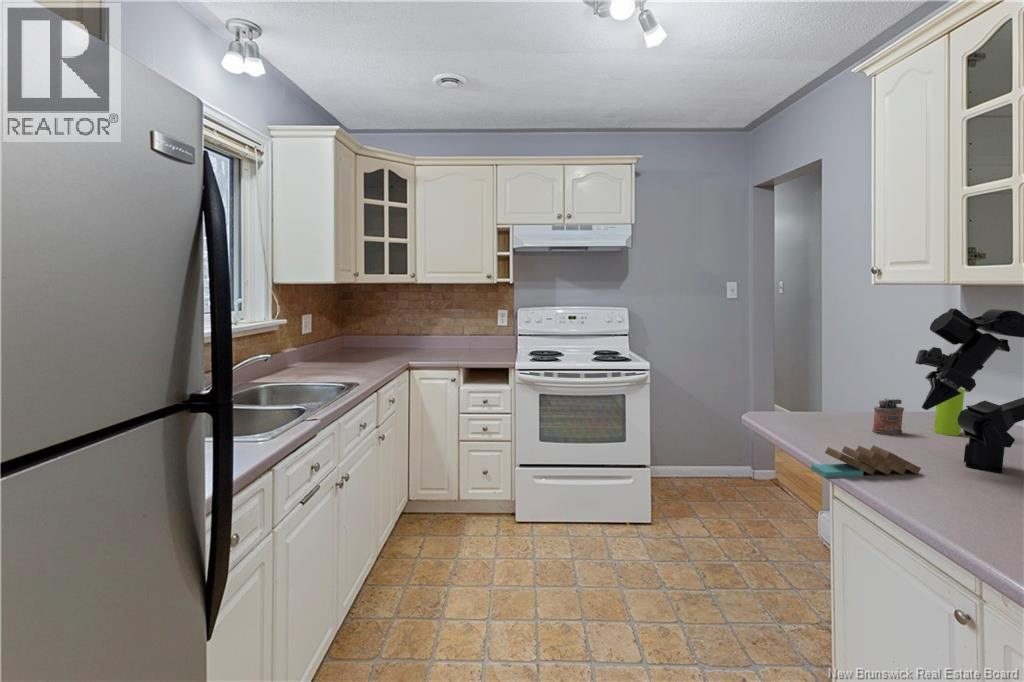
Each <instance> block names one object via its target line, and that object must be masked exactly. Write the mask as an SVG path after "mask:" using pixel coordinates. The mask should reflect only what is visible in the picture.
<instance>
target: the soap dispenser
mask: <svg viewBox="0 0 1024 682" xmlns="http://www.w3.org/2000/svg"><path fill="white" fill-rule="evenodd" d="M964 390H965V389H964V388H962V387H961V388H960V389H959V390H958V391H959V392H960V393H961V394H960V395H957V396H955V397H953V398H951V399H949V400H947V401H945V402H942V403H940V404H938V405H936V406H935V416H934V417H935V418H934V425H933V426H934V428H933V432H934V433H936V434H938V435H939V434H940V435H944V436H950V437H951V436H952V437H958V436H960V435H961V430H962V428H961V427H960V426H959V424H958V416H959V414H960V412H961V411H963V410H964V409H963V408H964V400H965V399H964V397H965V391H964Z"/></svg>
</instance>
